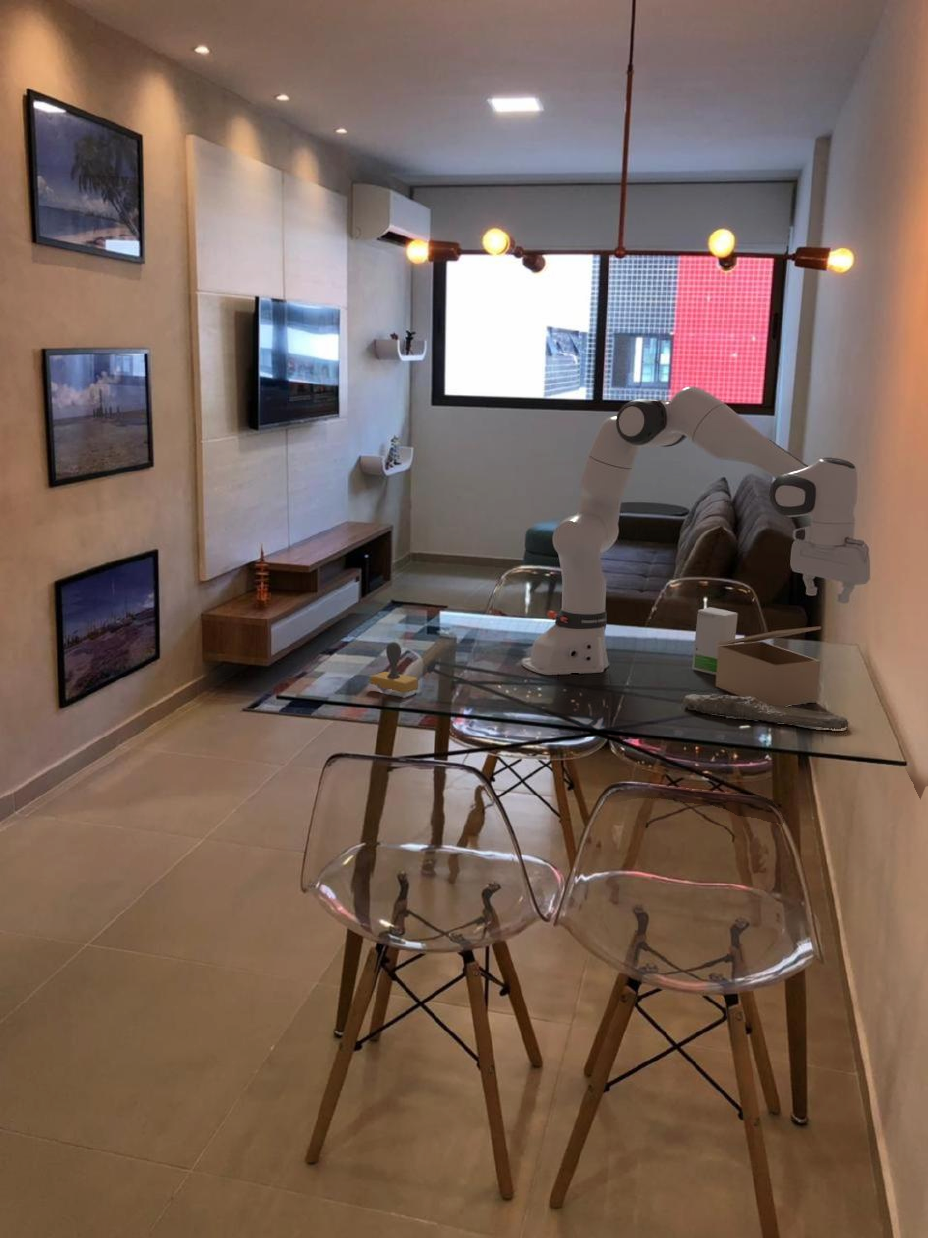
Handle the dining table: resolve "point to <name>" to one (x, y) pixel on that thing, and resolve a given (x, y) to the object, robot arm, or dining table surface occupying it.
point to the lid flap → (769, 635)
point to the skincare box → (712, 637)
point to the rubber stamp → (394, 673)
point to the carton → (767, 673)
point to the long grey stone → (762, 711)
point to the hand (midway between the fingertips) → (826, 598)
